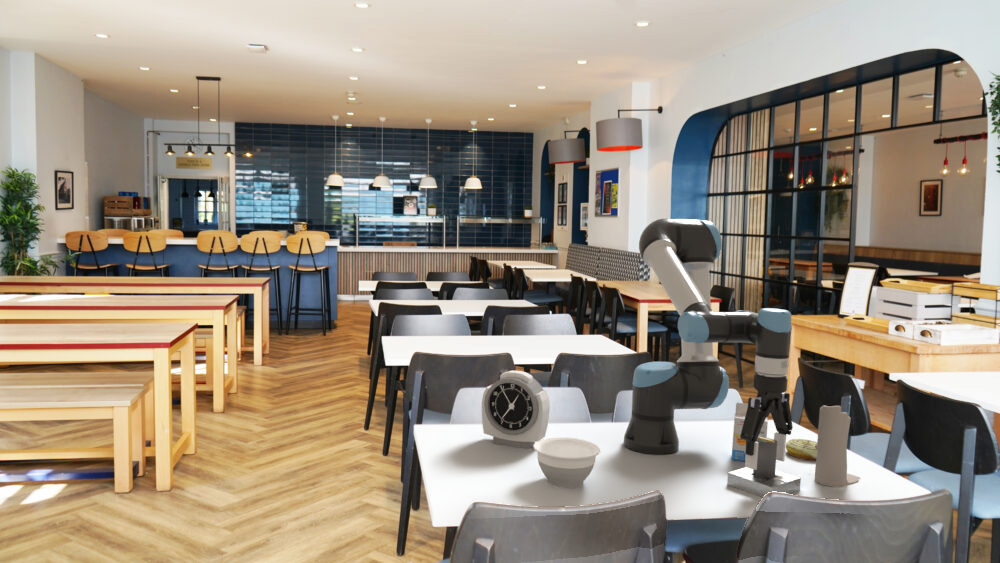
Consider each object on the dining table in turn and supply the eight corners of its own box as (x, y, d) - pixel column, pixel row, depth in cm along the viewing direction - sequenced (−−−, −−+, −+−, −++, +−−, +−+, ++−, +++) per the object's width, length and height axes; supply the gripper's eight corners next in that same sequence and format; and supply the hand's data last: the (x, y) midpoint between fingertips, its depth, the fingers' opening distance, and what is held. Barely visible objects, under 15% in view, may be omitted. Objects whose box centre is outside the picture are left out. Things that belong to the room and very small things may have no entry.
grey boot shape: (867, 479, 192) (873, 401, 191) (834, 488, 185) (840, 407, 183) (841, 471, 198) (847, 395, 197) (808, 479, 191) (814, 401, 189)
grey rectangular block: (748, 483, 184) (751, 437, 183) (760, 480, 188) (763, 434, 187) (766, 490, 181) (769, 443, 180) (778, 486, 184) (781, 440, 183)
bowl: (550, 497, 172) (552, 460, 172) (521, 474, 187) (522, 440, 186) (611, 489, 179) (613, 454, 178) (577, 468, 193) (579, 435, 193)
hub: (727, 484, 185) (727, 471, 185) (755, 475, 192) (756, 463, 192) (771, 500, 176) (772, 486, 175) (799, 490, 183) (800, 477, 183)
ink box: (731, 460, 204) (735, 406, 203) (731, 454, 209) (735, 402, 208) (765, 464, 202) (768, 409, 200) (764, 458, 206) (768, 405, 205)
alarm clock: (478, 442, 212) (480, 370, 210) (490, 434, 220) (492, 365, 218) (539, 452, 205) (542, 378, 203) (549, 443, 213) (552, 372, 211)
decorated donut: (822, 464, 204) (823, 451, 203) (780, 456, 210) (781, 442, 210) (830, 455, 212) (831, 442, 212) (791, 447, 218) (792, 434, 218)
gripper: (756, 382, 171) (749, 477, 173) (812, 371, 186) (805, 459, 188) (727, 375, 177) (722, 467, 179) (784, 366, 192) (778, 451, 194)
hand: (764, 463), depth 183 cm, fingers open, 11 cm apart
